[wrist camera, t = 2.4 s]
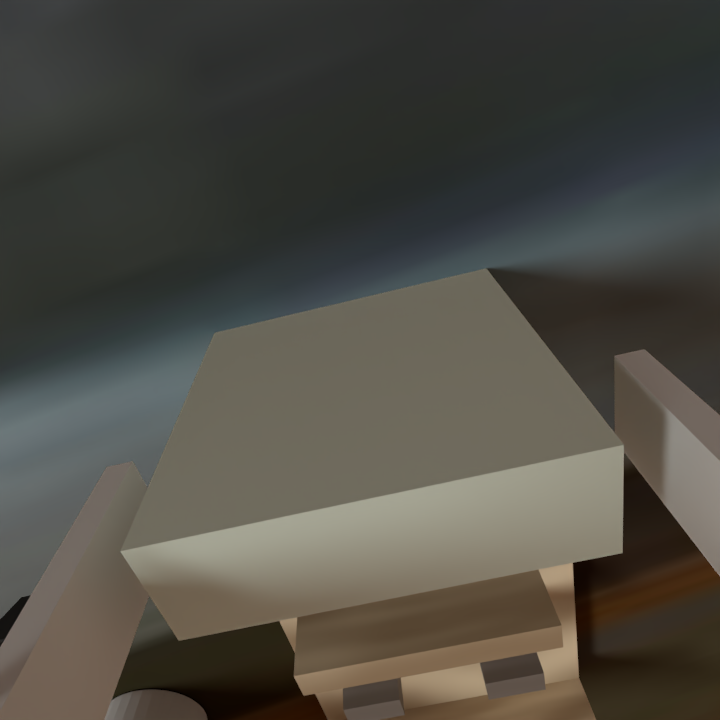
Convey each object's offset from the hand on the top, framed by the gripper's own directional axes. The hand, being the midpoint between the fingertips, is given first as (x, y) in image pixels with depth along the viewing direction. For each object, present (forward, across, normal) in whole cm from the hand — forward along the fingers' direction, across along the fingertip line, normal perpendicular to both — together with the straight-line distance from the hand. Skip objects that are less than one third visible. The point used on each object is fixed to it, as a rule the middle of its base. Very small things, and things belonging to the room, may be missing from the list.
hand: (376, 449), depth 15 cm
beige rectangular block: (+6, 0, 0) cm, 6 cm away
